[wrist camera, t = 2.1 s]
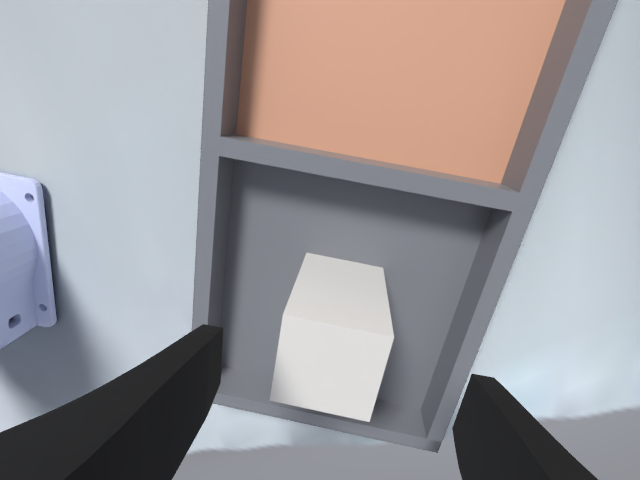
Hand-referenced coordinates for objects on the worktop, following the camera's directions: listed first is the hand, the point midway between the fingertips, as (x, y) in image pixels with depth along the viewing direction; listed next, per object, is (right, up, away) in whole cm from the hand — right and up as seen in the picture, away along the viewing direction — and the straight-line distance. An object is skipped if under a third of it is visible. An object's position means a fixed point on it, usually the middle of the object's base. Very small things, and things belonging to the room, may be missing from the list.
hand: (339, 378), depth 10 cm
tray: (+2, +8, +7) cm, 11 cm away
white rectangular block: (0, +1, +9) cm, 9 cm away
